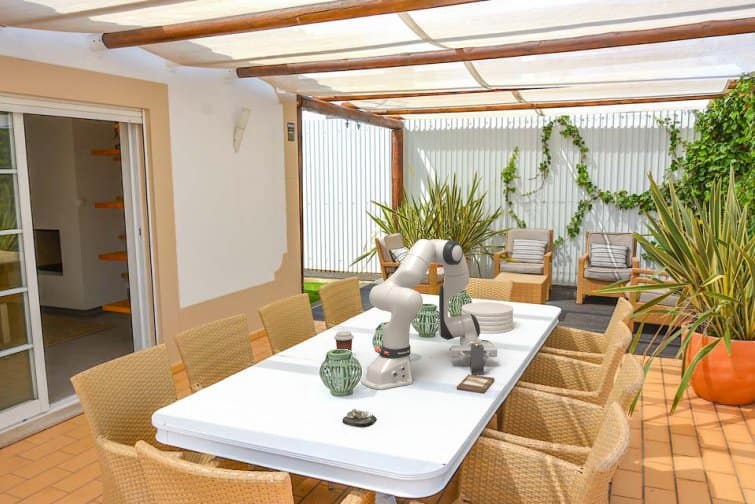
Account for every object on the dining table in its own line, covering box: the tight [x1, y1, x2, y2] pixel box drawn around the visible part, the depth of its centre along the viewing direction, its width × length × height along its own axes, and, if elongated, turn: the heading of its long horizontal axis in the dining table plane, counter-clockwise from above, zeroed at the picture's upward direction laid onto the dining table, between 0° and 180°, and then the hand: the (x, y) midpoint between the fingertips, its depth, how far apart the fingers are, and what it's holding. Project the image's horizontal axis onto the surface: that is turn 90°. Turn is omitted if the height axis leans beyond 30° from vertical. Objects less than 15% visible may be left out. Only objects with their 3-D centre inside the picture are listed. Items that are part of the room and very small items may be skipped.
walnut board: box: [456, 373, 495, 394], centre depth 239 cm, size 16×11×1 cm
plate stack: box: [461, 301, 514, 335], centre depth 329 cm, size 28×28×12 cm
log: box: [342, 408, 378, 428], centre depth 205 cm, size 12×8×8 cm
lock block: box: [469, 343, 485, 376], centre depth 252 cm, size 5×5×13 cm
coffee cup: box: [333, 330, 355, 351], centre depth 277 cm, size 9×9×12 cm
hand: (475, 356), depth 255 cm, fingers open, 8 cm apart
